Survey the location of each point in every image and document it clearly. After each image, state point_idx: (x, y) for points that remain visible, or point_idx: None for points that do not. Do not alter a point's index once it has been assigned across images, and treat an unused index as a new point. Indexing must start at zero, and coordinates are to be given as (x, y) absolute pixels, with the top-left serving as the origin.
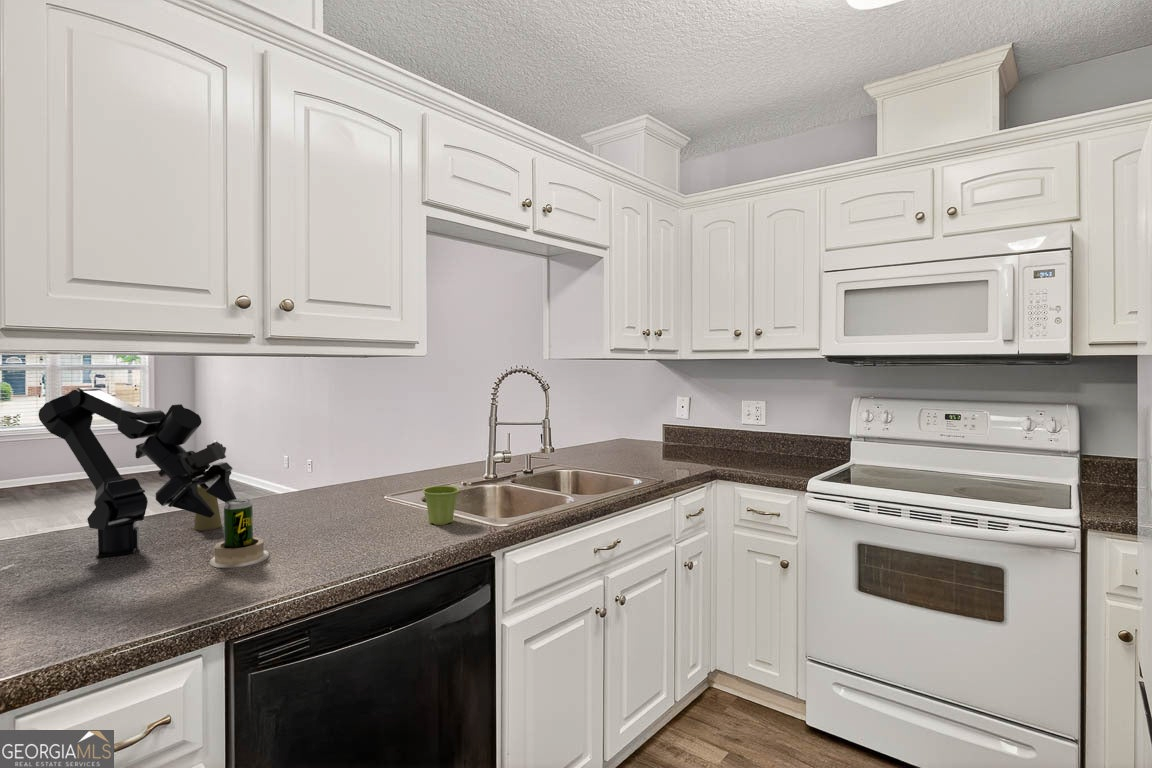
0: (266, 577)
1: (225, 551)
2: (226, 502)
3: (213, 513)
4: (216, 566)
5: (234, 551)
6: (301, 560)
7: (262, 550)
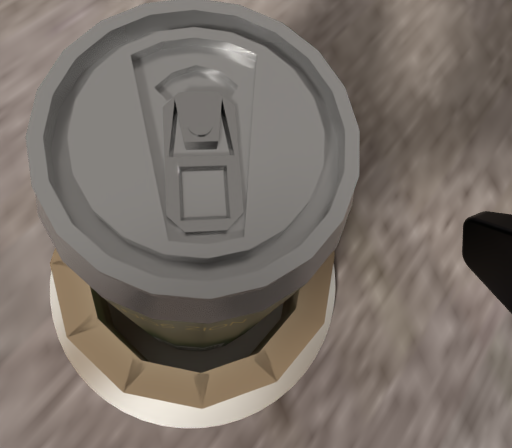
0: (323, 3)
1: None
2: (290, 253)
3: (484, 214)
4: (332, 279)
5: None
6: (112, 9)
7: None
